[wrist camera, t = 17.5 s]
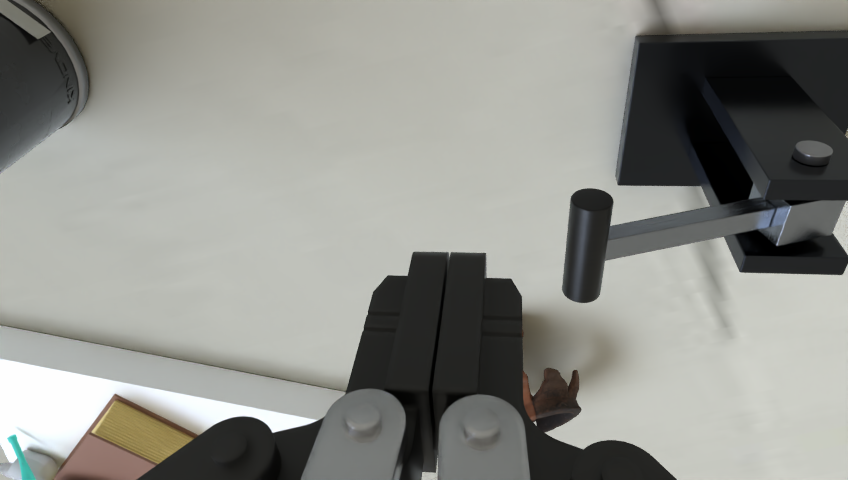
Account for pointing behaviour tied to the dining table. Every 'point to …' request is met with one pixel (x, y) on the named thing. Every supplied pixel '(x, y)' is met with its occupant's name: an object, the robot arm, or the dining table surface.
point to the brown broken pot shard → (552, 400)
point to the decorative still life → (124, 406)
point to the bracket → (743, 129)
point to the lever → (678, 231)
